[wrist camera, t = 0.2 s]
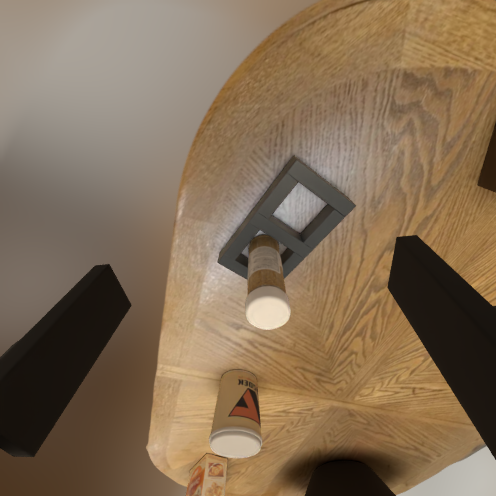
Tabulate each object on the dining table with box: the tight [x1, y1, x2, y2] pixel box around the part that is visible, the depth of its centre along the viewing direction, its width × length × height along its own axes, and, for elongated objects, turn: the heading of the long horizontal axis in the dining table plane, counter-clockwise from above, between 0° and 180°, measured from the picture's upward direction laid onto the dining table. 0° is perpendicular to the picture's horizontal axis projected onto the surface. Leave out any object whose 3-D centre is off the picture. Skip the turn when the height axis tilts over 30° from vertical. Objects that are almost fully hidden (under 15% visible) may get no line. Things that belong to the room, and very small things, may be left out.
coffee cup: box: [209, 370, 262, 458], centre depth 48 cm, size 9×9×12 cm
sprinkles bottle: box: [245, 235, 291, 330], centre depth 30 cm, size 5×5×13 cm
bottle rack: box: [218, 156, 356, 280], centre depth 33 cm, size 17×9×2 cm, turn 145°
